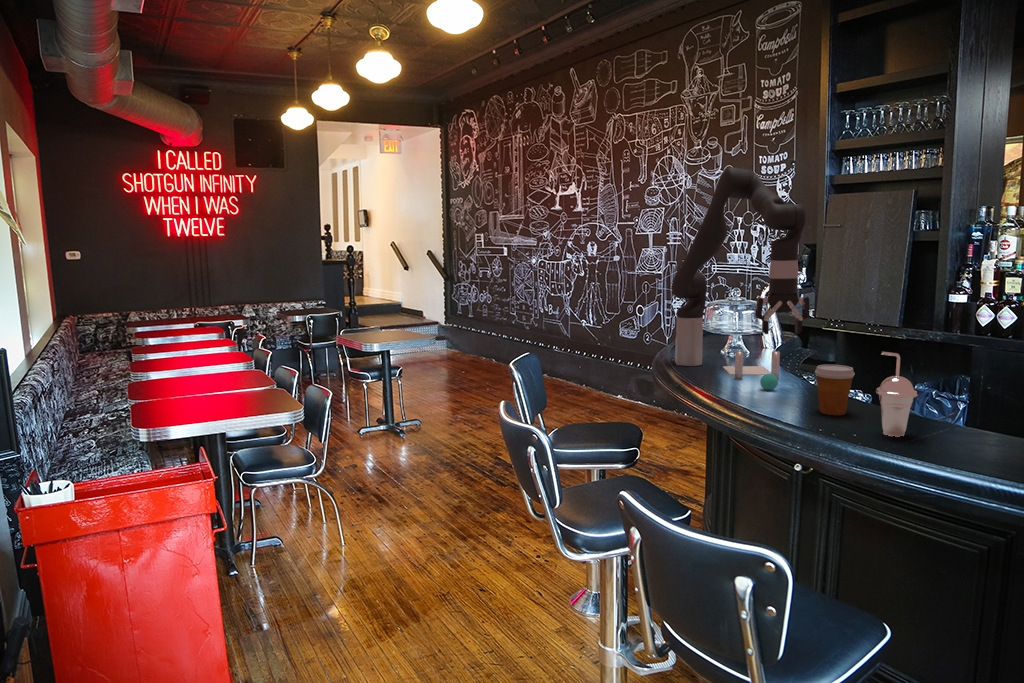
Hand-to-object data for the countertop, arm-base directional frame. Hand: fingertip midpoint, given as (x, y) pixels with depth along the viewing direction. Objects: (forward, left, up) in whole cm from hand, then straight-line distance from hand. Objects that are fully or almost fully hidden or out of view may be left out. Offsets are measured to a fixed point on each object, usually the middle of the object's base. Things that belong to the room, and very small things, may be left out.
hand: (781, 333), depth 200 cm
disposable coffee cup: (+9, -17, -19) cm, 27 cm away
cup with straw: (+16, -37, -19) cm, 44 cm away
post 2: (+5, +25, -19) cm, 32 cm away
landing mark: (-1, +39, -19) cm, 43 cm away
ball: (-1, +9, -16) cm, 19 cm away
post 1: (-6, +25, -19) cm, 32 cm away
